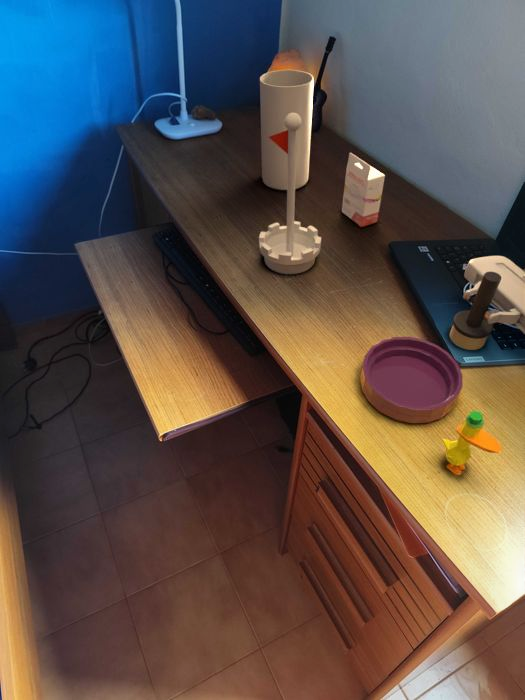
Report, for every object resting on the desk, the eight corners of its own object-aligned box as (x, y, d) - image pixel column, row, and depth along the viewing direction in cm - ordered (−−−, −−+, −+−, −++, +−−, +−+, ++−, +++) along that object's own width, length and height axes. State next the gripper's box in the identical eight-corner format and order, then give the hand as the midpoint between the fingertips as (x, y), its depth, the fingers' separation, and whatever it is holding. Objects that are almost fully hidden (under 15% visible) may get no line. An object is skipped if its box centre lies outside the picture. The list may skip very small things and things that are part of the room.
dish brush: (493, 345, 82) (523, 283, 72) (462, 354, 81) (488, 293, 71) (471, 322, 86) (496, 260, 76) (441, 330, 85) (463, 269, 75)
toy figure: (484, 474, 65) (516, 425, 56) (473, 492, 63) (504, 444, 55) (440, 446, 68) (464, 396, 60) (428, 463, 66) (451, 413, 58)
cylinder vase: (294, 196, 120) (297, 90, 102) (253, 184, 125) (249, 81, 107) (316, 176, 127) (322, 74, 109) (277, 166, 132) (277, 67, 114)
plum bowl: (475, 409, 73) (483, 393, 70) (389, 437, 70) (394, 421, 67) (421, 343, 83) (427, 327, 80) (344, 366, 80) (346, 349, 77)
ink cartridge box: (378, 222, 111) (389, 161, 100) (361, 228, 109) (370, 167, 98) (357, 206, 116) (365, 147, 105) (340, 211, 114) (347, 152, 104)
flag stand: (330, 253, 102) (344, 108, 81) (299, 284, 95) (306, 134, 73) (280, 235, 108) (281, 95, 86) (247, 264, 100) (240, 118, 79)
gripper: (510, 241, 85) (445, 257, 82) (599, 311, 72) (525, 333, 69) (498, 269, 90) (436, 285, 87) (580, 340, 76) (510, 361, 73)
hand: (476, 307), depth 78 cm, fingers open, 4 cm apart
